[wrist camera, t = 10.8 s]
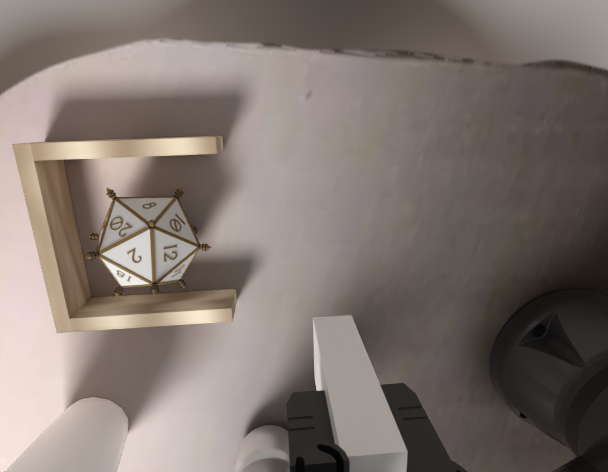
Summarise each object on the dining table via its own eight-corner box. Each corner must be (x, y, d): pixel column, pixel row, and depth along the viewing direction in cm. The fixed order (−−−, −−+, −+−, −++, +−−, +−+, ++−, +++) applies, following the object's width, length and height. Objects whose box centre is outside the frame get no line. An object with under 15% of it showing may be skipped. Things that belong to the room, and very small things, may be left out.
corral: (222, 135, 32) (215, 136, 28) (236, 300, 36) (232, 321, 32) (44, 141, 31) (12, 144, 27) (80, 310, 35) (56, 333, 32)
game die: (154, 226, 38) (40, 249, 29) (188, 159, 33) (65, 164, 25) (207, 296, 35) (101, 343, 27) (251, 234, 31) (140, 267, 23)
